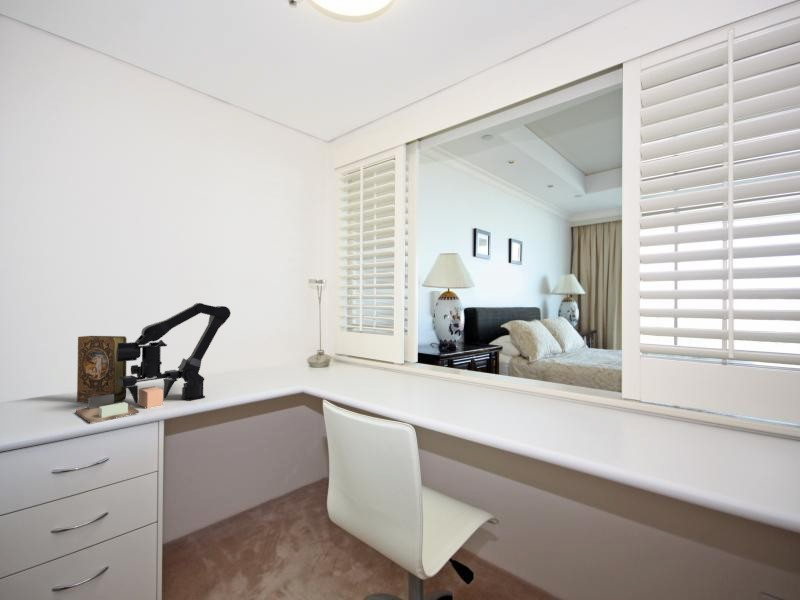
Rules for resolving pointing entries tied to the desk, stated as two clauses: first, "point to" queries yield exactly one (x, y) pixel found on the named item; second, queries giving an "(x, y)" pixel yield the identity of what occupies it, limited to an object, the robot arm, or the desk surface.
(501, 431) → the desk surface
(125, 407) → the pale green rectangular block
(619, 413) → the desk surface
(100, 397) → the bookend
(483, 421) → the desk surface
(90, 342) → the book
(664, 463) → the desk surface
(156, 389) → the peach rectangular block
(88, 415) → the shelf board
